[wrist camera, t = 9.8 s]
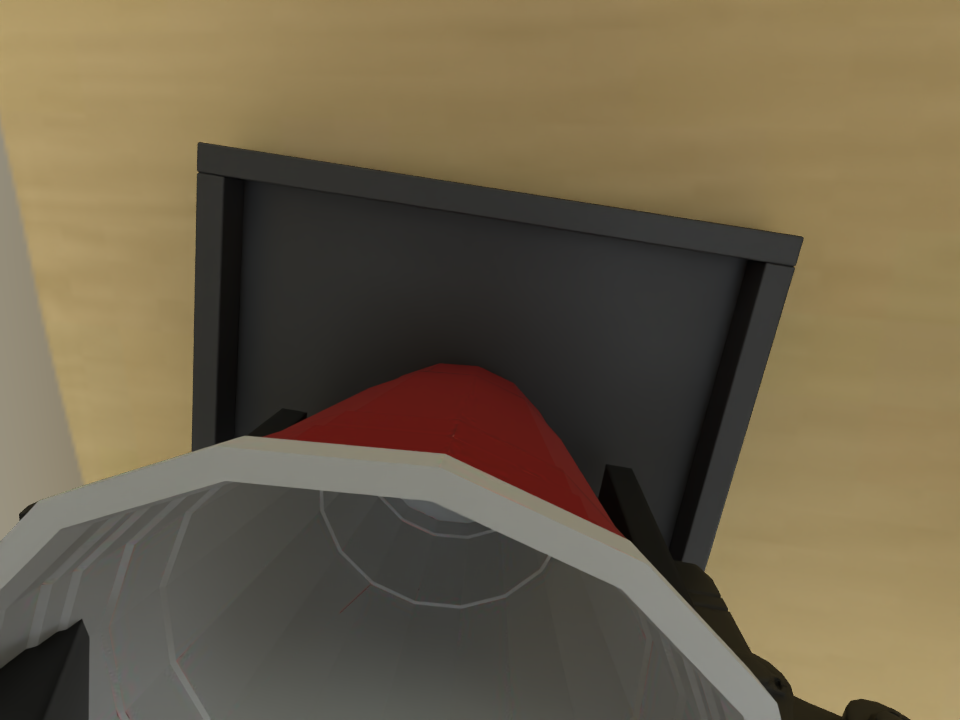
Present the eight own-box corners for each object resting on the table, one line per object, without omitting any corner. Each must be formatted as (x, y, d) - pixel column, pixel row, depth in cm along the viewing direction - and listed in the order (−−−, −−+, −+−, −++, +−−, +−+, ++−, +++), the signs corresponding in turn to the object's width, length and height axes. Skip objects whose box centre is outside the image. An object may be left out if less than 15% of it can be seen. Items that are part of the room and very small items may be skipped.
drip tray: (233, 151, 17) (196, 141, 15) (771, 235, 16) (805, 236, 14) (218, 602, 21) (187, 640, 19) (645, 682, 20) (658, 730, 19)
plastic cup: (272, 548, 19) (-103, 1037, 8) (325, 248, 17) (-134, 310, 5) (567, 629, 19) (634, 1247, 8) (671, 341, 16) (1024, 625, 5)
